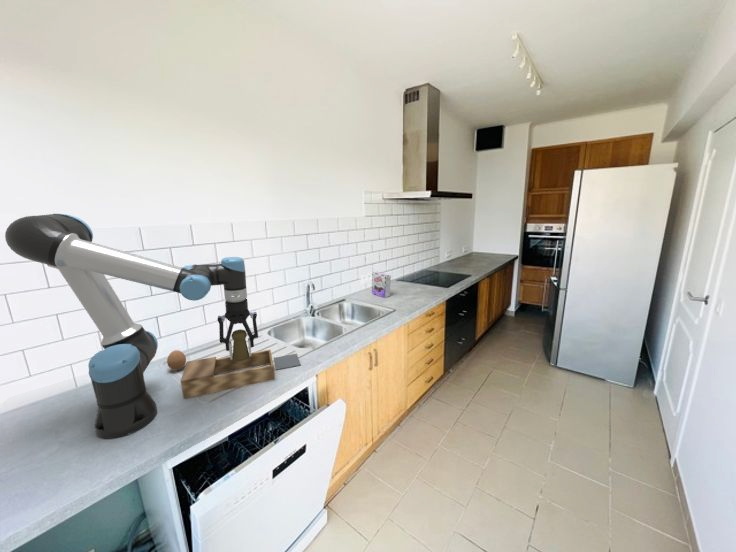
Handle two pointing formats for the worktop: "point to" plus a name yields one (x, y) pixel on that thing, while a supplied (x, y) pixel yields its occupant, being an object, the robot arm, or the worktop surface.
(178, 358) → the egg
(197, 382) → the crate
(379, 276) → the candy box
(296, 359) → the slate mat
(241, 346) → the cork
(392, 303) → the worktop surface
